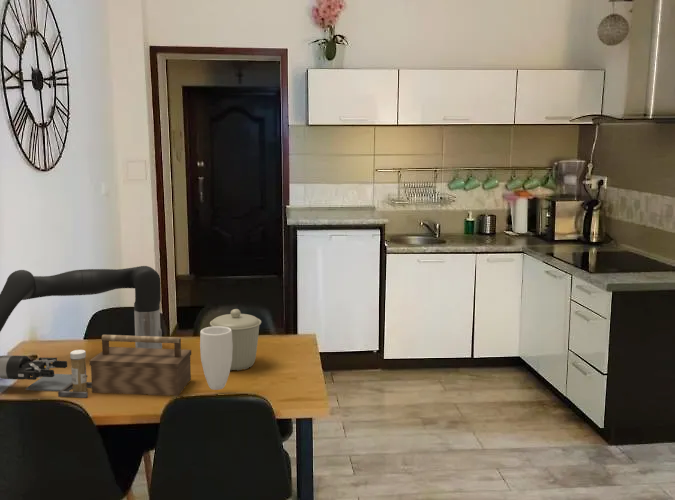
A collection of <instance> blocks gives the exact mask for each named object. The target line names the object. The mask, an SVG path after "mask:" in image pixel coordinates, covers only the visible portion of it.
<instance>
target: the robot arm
mask: <svg viewBox="0 0 675 500" xmlns="http://www.w3.org/2000/svg"><path fill="white" fill-rule="evenodd" d="M161 283H162V282H161V277H160V274H159V273H158V271H157V270H155V269H154V268H153V267H151V266H147V265H140V266H135V267H134V266H132V267H129V268H128V267H127V268H119V269H114V268H113V269H112V268H95V269H94V268H92V269H91V268H86V269H85V268H84V269H74V270H69V271H64V272H61V273H58V274H57V273H56V274H54V275H45V276H44V275H40V276H39V275H34V274H32V272H30V271H28V270H25V269H19V270H15V271H13V272H12V273H10V274H9V276H8V277H7V279H6V280H5V284H4V285H3V287H2V290H1V292H0V333H1V331H2V330H3V328H4V326H5V324H6V323H7V321H8V319H9V318H10V316H11V314H12V313H13V311H14V310H15V309H16V308H17V306H18V305H19V304H20V303H21V301H25V300H34V299H37V298H44V297H54V296H55V297H56V296H57V297H66V296H68V297H69V296H70V297H71V296H74V297H75V296H91V295H100V294H104V293H107V292H110V291H113V290H119V289H120V290H121V289H134V295H135V296H134V299H135V300H134V302H133V304H134V305H133V310H134V311H133V313H134V315H133V316H134V336H155V337H163V336H162V334H163V332H162V328H161V307H160V306H161V300H162V299H161V298H162V297H161V295H162V293H161V291H162V289H161V287H162V286H161ZM134 343H135V348H154V349H163V343H149V342H134ZM66 368H68V361H66V360H58V357H38V359H34V360H31V359H30V357H29V356H28V355H12V354H11V355H9V354H7V355H0V379H1V380H22V381H23V380H30V381H31V380H32V381H37V380H38V379H40V378H42V377H53V376H54V374H55V370H54V369H66Z"/></svg>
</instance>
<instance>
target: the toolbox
mask: <svg viewBox="0 0 675 500" xmlns="http://www.w3.org/2000/svg"><path fill="white" fill-rule="evenodd" d="M181 340H182V339H181V337H179V336H162V337H155V336H135V335H125V334H123V335H122V334H102V335H101V346H102V347H101V349H102V351H100V352H99V353H98V354H96V355H95V356H94V357H92V358H90V360H89V363H88V364H89V366H90V374H91V375H90V376H91V381H87V389H91V392H92V393H101V394H103V393H104V394H122V393H123V394H127V395H146V394H148V395H151V396H154V395H155V396H170V395H174V396H175V397H176V396H177V397H179V395H180V394H181V393H182V392H183V391H184V389H185V388H186V387H187V386H186V385H188V384H189V383H190V382H191V381H190V380H191V379H192V378H191V376H192V374H191V355H192V349H181V348H182V344H181V343H182V342H181ZM110 342H121V343H122V342H126V343H127V342H128V343H135V342H149V343H162V344H174V345H173V346H174V347H173V348H162V349H154V348H136V347H123V346H121V347H120V346H110ZM189 381H190V382H189ZM188 382H189V383H188ZM187 383H188V384H187ZM72 386H73V383H72V382H71V383H70V384H68V385H67V386H66V387H64V388H63V389H62V390H60V391H57V394H58V395H57V396H58V397H59V398H78V399H79V398H83V399H86V398H88V391H87V392H72V391H73V390H72V391H71V390H70V391H68V390H69V389H70V388H71V387H72ZM185 386H186V387H185ZM184 387H185V388H184ZM181 391H182V392H181ZM148 395H147V396H148Z"/></svg>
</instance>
